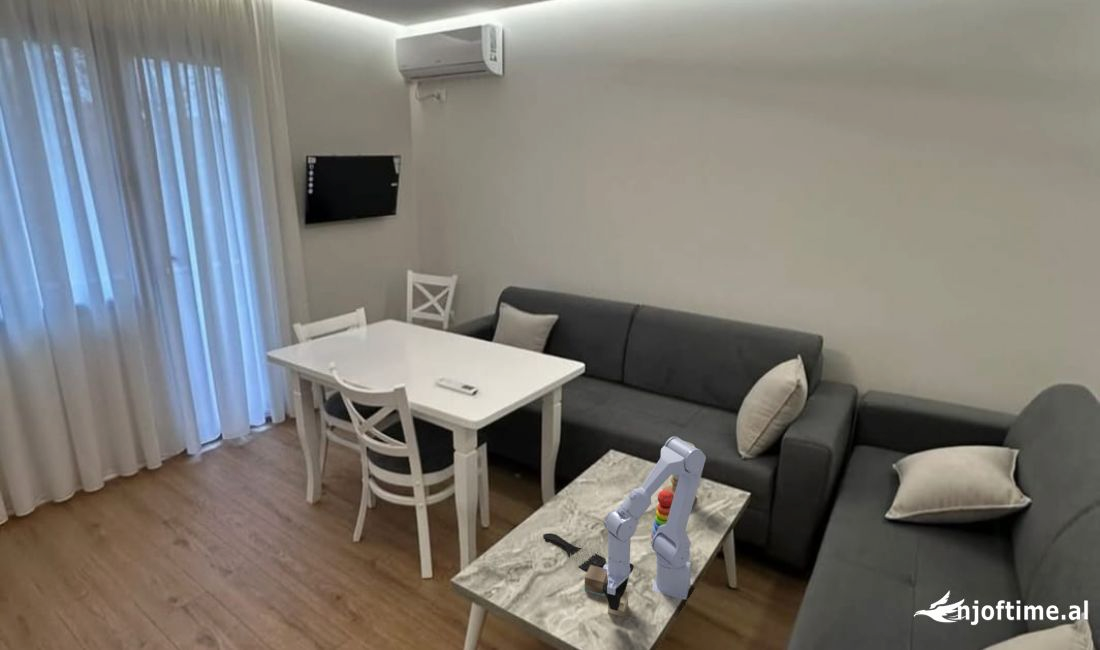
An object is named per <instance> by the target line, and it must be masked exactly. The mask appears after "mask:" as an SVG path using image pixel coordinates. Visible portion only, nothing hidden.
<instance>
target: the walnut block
mask: <svg viewBox="0 0 1100 650" xmlns="http://www.w3.org/2000/svg"><path fill="white" fill-rule="evenodd" d="M604 583H607V584H608V577H607V571H604V570H603V567H597V566H593V565H590V567H589V569H588V571H586V574H585V575H584V585H585V589H586V590H589V591H593V592H597V593H600V594H603V593H604V592H603V590H602V587H603V585H604Z"/></svg>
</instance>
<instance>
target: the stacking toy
mask: <svg viewBox="0 0 1100 650" xmlns="http://www.w3.org/2000/svg"><path fill="white" fill-rule="evenodd" d="M673 498H674V495H673V493H672V492H671V491H669V490H663V489H662V490H661V491H659V493H658V494H657V501H658V504H657V508H656V511H655V516H654V522H653V527H652V531H651V534H650V535H651V537H650V544H651V545H652V539H653V537H654V535H655V534H656V532H657V530H658V527H659V526H661V525H665V524H666V523H667V519H668V515H669V512H670V508H671V505H672V501H673Z"/></svg>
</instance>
